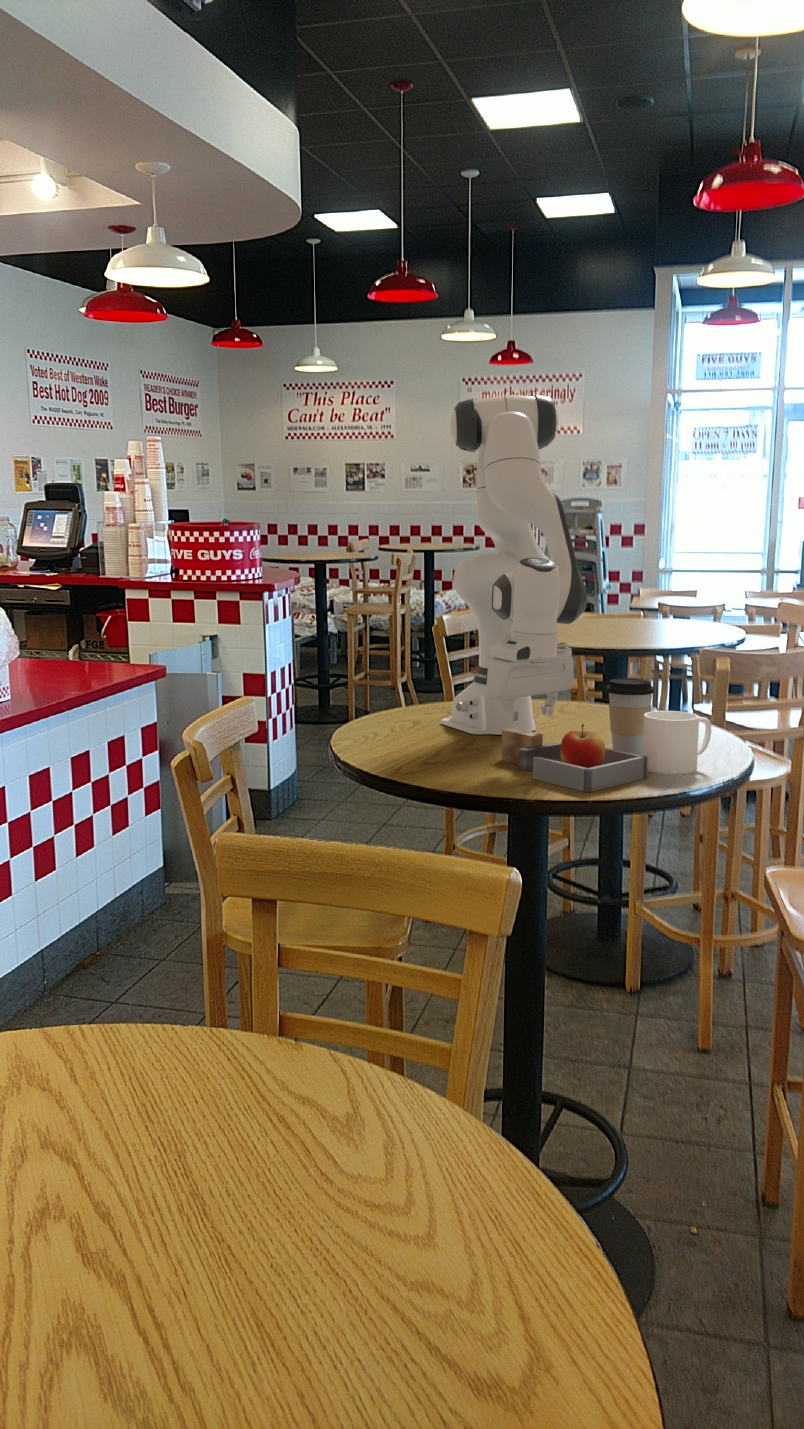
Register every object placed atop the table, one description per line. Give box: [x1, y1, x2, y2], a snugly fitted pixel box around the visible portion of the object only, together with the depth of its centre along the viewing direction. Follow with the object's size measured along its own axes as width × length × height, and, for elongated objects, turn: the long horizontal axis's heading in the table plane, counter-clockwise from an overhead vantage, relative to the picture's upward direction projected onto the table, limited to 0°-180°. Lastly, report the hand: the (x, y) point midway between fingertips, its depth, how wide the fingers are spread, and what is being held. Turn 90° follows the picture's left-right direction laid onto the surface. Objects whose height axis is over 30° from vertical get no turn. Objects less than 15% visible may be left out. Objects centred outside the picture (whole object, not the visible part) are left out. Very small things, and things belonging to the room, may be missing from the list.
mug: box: [642, 710, 712, 776], centre depth 199 cm, size 13×10×10 cm
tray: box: [532, 747, 648, 794], centre depth 193 cm, size 13×16×4 cm
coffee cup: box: [605, 677, 656, 755], centre depth 210 cm, size 9×9×15 cm
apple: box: [560, 723, 606, 768], centre depth 194 cm, size 8×8×10 cm
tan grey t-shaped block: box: [501, 728, 562, 772], centre depth 205 cm, size 10×10×6 cm
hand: (529, 717), depth 204 cm, fingers open, 8 cm apart
